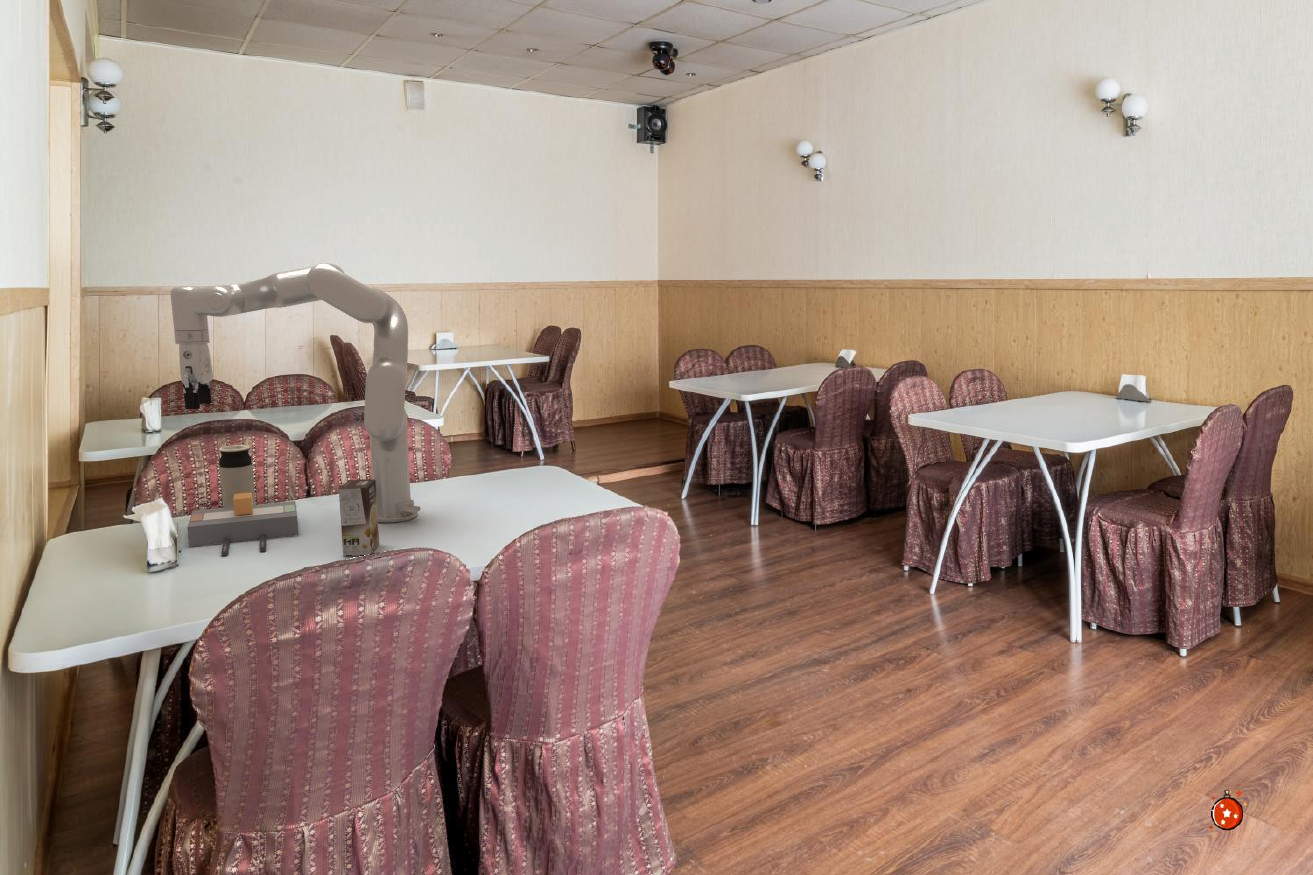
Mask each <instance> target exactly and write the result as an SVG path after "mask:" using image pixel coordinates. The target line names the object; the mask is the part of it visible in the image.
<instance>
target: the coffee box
mask: <svg viewBox="0 0 1313 875" xmlns="http://www.w3.org/2000/svg"><path fill="white" fill-rule="evenodd" d="M337 489H338V497H339V498H338V501H339V513H340V527H341V544H342V545H341V546H342V556H343V557H347V556H346V555H352V556H351V557H361V556H360V555H368V554H371V555H372V554H373V552H374V551H375V550H376V549H377V548H378V546H379V545H380V534H379V533H380V531H379V522H378V513H377V496H376V480H375V479H372V478H371V479H370V478H368V479H365V478H363V479H350V480H348V481H346V482H345V483H344V484H342V485H341V486H340V487H338V488H337ZM372 551H373V552H372Z"/></svg>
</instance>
